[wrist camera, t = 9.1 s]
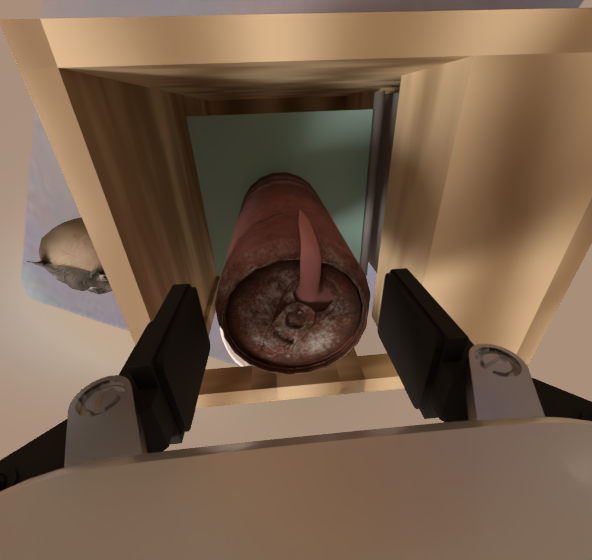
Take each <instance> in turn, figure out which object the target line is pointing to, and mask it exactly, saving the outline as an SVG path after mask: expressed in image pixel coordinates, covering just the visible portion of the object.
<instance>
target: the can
mask: <svg viewBox="0 0 592 560" xmlns="http://www.w3.org/2000/svg"><path fill="white" fill-rule="evenodd" d="M369 301H370V291H369V287H368V283H367V279H366V275H365V273H364V272H363V270H362V268H361V267H360V265H359V263H358V262H357V260H356V258H355V256H354V255H353V253H352V251H351V250H350V248H349V246H348V245H347V243H346V241H345V240H344V238H343V236H342V235H341V233H340V231H339V230H338V228H337V226H336V225H335V223H334V221H333V220H332V218H331V216H330V214H329V213H328V211H327V209H326V208H325V206H324V204H323V203H322V201H321V199H320V198H319V196H318V194H317V193H316V191H315V190H314V189H313V187H312V186H311V185H310V183H308V182H307V181H305V180H304V179H303V178H301V177H300V176H297V175H294V174H291V173H287V172H281V173H271V174H269V175H266V176H264V177H261V178H260V179H258V180H257V181H256V182H255V183H254V184H253V185H251V186H250V188H249V190H248V191H247V193H246V195H245V196H244V199H243V202H242V206H241V209H240V213H239V216H238V219H237V223H236V226H235V230H234V233H233V237H232V240H231V244H230V247H229V250H228V254H227V257H226V261H225V264H224V268H223V271H222V274H221V278H220V281H219V285H218V291H217V296H216V301H215V308H216V313H217V318H218V323H219V325H220V327H221V329H222V330H223V333H224V338H225V339H226V341H227V342H228V344H229V345H230V347H231V349H232V350H233V352H234V353H235V354H236V355H238V356H239V357H240V358H241V359H243V360H244V361H245V362H247V363H248V364H249V365H251V366H254V367H256V368H259V369H261V370H264V371H266V372H271V373H278V374H285V375H292V374H304V373H310V372H313V371H316V370H320V369H323V368H326V367H328V366H330V365H332V364H333V363H335V362H337V361H338V360H340V359H342V358H344V357H345V356H346V355H347V354H348V353H349V352H350V351H351V350H352V349H353V348H354V347H355V346H356V345H357V344H358V342H359V340H360V338H361V335H362V334H363V332H364V330H365V328H366V324H367V316H368V309H369Z"/></svg>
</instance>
